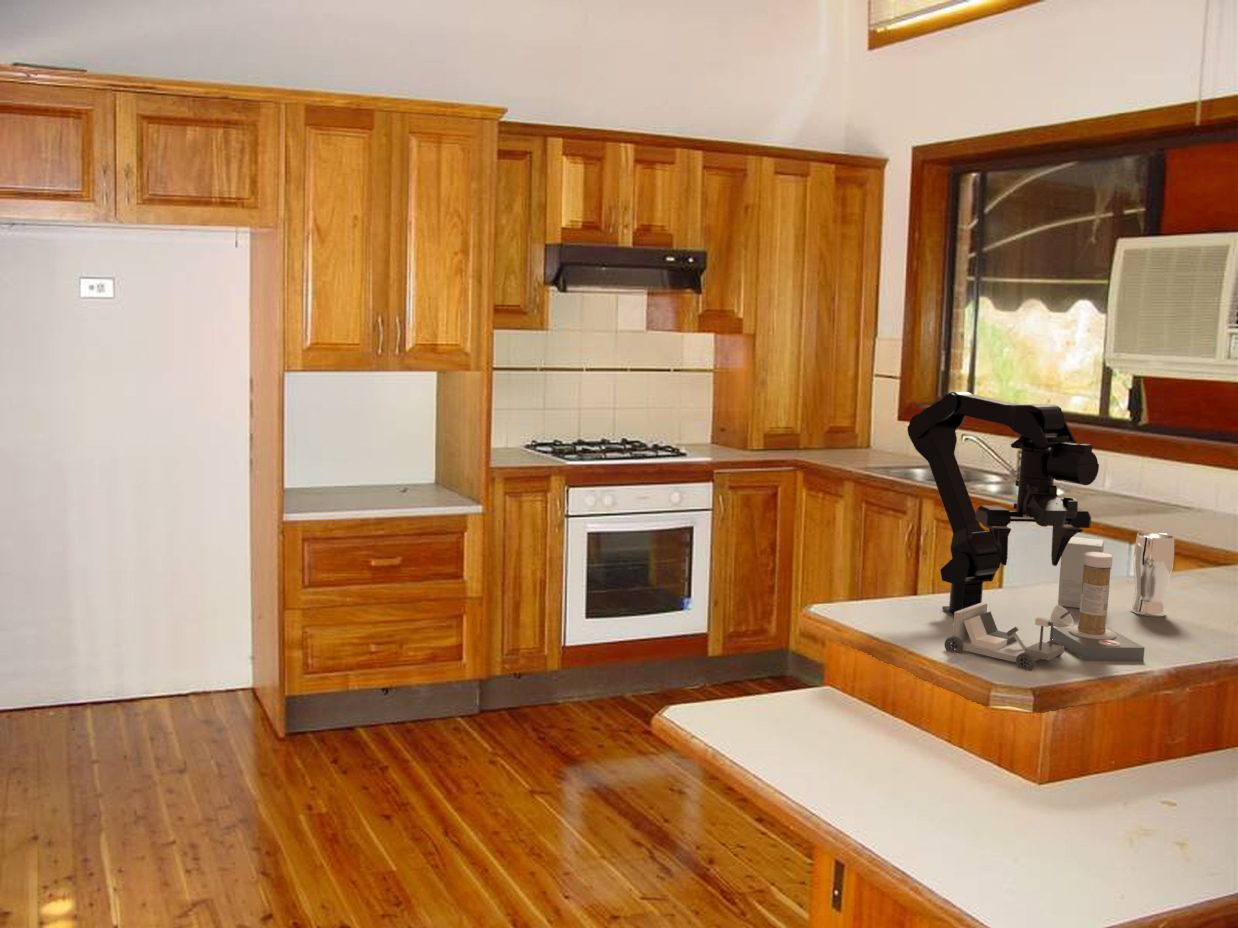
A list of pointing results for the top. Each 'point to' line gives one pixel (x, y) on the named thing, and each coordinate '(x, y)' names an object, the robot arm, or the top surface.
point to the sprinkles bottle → (1095, 592)
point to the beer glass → (1152, 572)
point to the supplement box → (1075, 569)
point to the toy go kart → (1004, 637)
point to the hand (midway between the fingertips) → (1029, 565)
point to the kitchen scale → (1099, 645)
